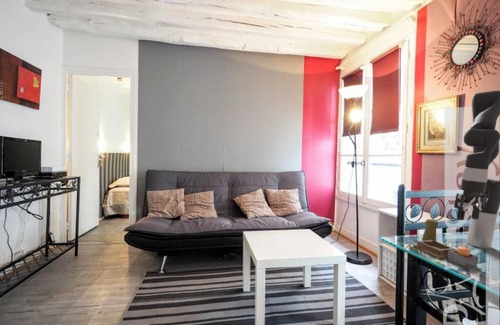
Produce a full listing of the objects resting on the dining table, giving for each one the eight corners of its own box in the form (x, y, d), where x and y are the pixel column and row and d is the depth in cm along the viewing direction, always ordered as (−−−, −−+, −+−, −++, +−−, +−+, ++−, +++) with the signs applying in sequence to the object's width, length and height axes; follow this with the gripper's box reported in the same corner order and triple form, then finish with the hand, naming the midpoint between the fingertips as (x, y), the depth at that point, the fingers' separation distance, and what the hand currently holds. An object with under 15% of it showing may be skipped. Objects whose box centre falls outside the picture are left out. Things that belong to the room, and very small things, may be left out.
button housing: (458, 258, 112) (459, 249, 111) (476, 266, 105) (478, 257, 105) (446, 259, 109) (448, 250, 109) (465, 268, 103) (467, 258, 102)
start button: (460, 254, 109) (461, 246, 109) (471, 258, 106) (472, 250, 105) (454, 254, 108) (455, 246, 108) (464, 259, 104) (466, 251, 104)
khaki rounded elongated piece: (438, 244, 127) (442, 222, 126) (424, 242, 128) (428, 220, 127) (432, 240, 132) (436, 218, 131) (419, 238, 134) (422, 217, 133)
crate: (431, 245, 125) (432, 239, 125) (458, 256, 114) (459, 249, 113) (412, 246, 121) (413, 240, 121) (439, 258, 110) (440, 251, 109)
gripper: (475, 178, 110) (469, 216, 111) (451, 177, 105) (445, 216, 107) (497, 181, 103) (490, 222, 104) (472, 180, 98) (465, 222, 100)
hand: (467, 219), depth 106 cm, fingers open, 8 cm apart
